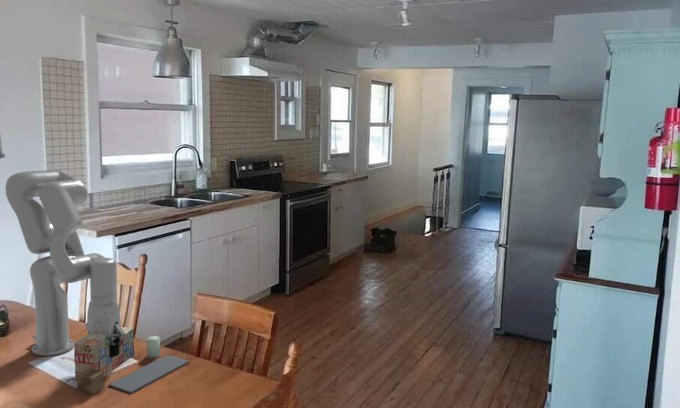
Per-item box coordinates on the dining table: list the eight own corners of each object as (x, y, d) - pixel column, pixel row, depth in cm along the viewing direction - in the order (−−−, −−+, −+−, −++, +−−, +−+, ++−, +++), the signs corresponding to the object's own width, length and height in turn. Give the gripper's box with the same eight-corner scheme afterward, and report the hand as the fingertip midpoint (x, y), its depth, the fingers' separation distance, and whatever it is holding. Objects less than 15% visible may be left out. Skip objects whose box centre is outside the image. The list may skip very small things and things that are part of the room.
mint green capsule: (144, 356, 180) (144, 339, 179) (153, 352, 184) (153, 335, 183) (153, 359, 178) (153, 341, 178) (162, 354, 182) (162, 337, 181)
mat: (108, 386, 160) (108, 384, 160) (168, 356, 181) (168, 354, 181) (131, 393, 156) (131, 391, 156) (189, 362, 177) (189, 360, 177)
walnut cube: (77, 392, 155) (77, 376, 155) (89, 384, 160) (88, 368, 159) (93, 395, 154) (92, 378, 154) (104, 387, 159) (103, 370, 158)
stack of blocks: (117, 352, 183) (116, 317, 181) (134, 354, 181) (134, 319, 180) (74, 381, 162) (73, 342, 160) (93, 384, 161) (92, 344, 159)
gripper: (74, 296, 168) (75, 351, 171) (114, 307, 161) (115, 363, 164) (94, 290, 175) (96, 343, 178) (134, 300, 168) (135, 354, 170)
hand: (105, 352), depth 171 cm, fingers open, 7 cm apart
